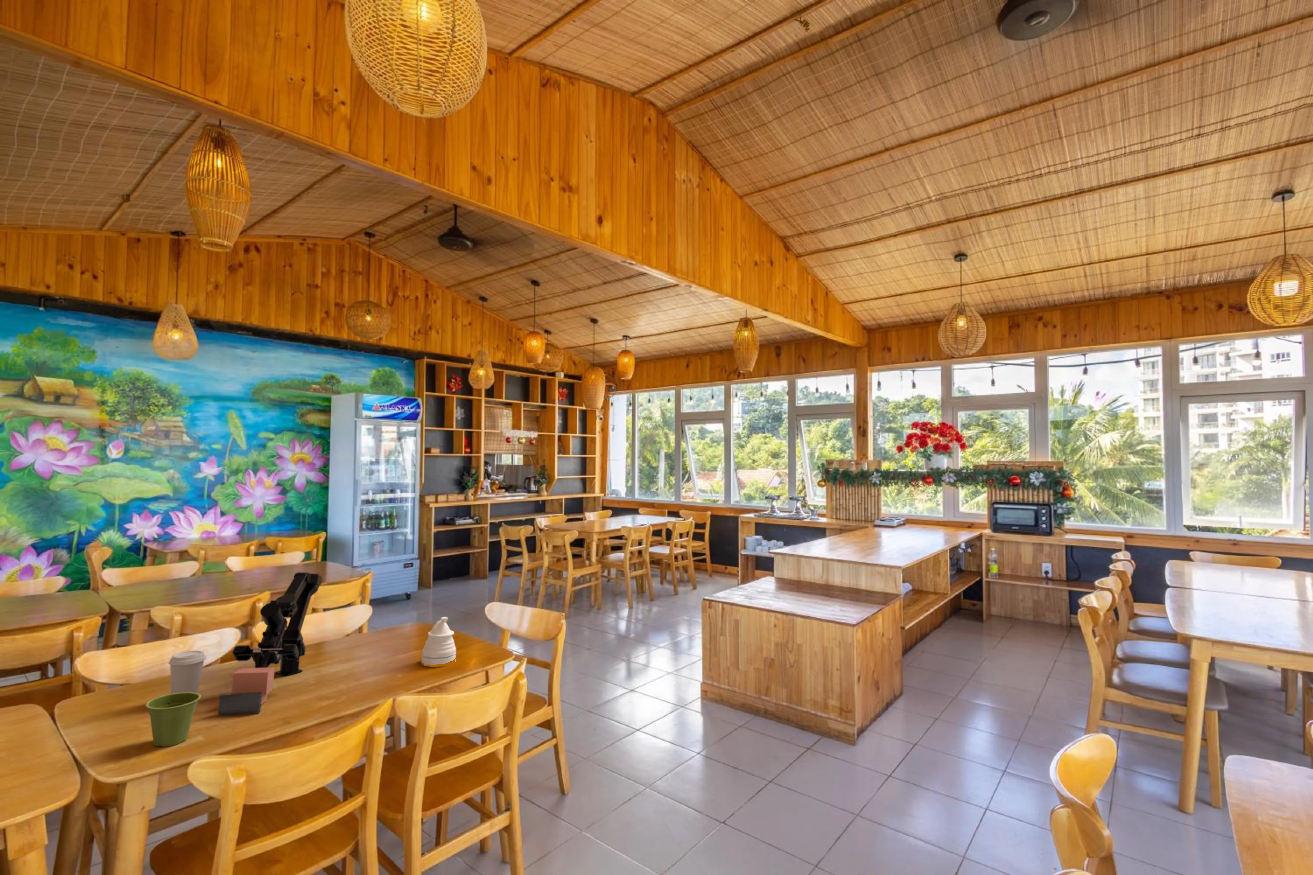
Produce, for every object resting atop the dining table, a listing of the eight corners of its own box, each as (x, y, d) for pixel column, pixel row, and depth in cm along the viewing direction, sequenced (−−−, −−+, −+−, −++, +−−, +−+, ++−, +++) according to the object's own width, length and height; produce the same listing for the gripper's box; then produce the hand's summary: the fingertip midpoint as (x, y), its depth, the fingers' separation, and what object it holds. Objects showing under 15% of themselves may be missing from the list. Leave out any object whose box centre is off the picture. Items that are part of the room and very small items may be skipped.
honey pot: (462, 661, 242) (464, 616, 243) (435, 669, 231) (438, 622, 232) (441, 655, 249) (444, 611, 250) (414, 663, 238) (417, 617, 239)
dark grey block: (240, 698, 196) (241, 679, 196) (277, 696, 198) (278, 678, 198) (218, 715, 182) (219, 695, 182) (258, 713, 184) (259, 693, 184)
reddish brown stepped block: (237, 700, 193) (240, 668, 194) (272, 699, 195) (274, 667, 196) (230, 706, 188) (232, 673, 189) (265, 704, 190) (268, 672, 191)
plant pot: (131, 746, 160) (135, 703, 161) (180, 729, 171) (183, 689, 172) (159, 755, 156) (163, 710, 157) (207, 737, 167) (210, 696, 168)
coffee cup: (160, 709, 185) (165, 659, 186) (169, 698, 193) (173, 651, 194) (199, 704, 189) (203, 656, 190) (205, 694, 198) (209, 648, 199)
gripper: (308, 645, 213) (293, 687, 202) (249, 646, 210) (231, 689, 198) (301, 628, 206) (286, 670, 195) (241, 628, 202) (222, 672, 191)
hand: (257, 676), depth 195 cm, fingers closed, pressing on reddish brown stepped block
